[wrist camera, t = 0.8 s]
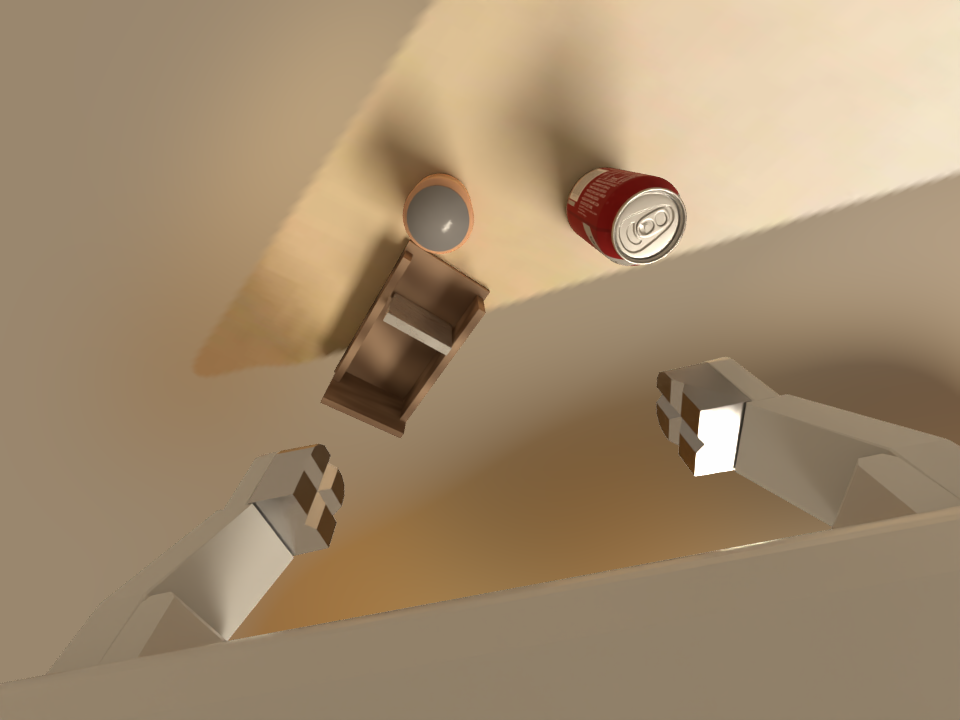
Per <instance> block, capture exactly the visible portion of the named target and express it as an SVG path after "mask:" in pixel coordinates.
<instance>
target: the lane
mask: <svg viewBox="0 0 960 720" xmlns="http://www.w3.org/2000/svg"><path fill="white" fill-rule="evenodd" d="M395 293H397V294H399V295H400V296H402V297H404V298H406V299H407V300H409V301H411V302H413V303H414V304H416V305H418V306H419V307H421V308H423V309H425V310H426V311H428V312H430V313H431V314H433V315H435V316H437V317H438V318H440V319H442V320H444V321H445V322H447V323H449V324H450V325H452V349H451V350H450V352H449V353H448V354H447V356H446V355H444V354H443V353H441V352H439V351H437V350H435V349H434V348H432V347H430V346H428V345H426V344H424V343H423V342H421V341H419V340H417V339H415V338H413V337H412V336H410V335H408V334H406V333H404V332H402V331H401V330H399V329H397V328H395V327H393V326H392V325H390V324H388V323H386V322H384V321H383V319H384V317H385V314H386V312H387V309H388V306H389V304H390V301H391V299H392V298H393V296H394V294H395ZM489 293H490V292H489V290H488V289H486V288H485V287H483V286H481V285H480V284H478V283H477V282H475V281H474V280H472V279H470V278H469V277H467V276H466V275H464V274H463V273H461V272H460V271H458V270H456V269H455V268H453V267H452V266H450V265H449V264H447V263H445V262H444V261H442V260H441V259H439V258H438V257H436V256H434V255H433V254H431V253H430V252H428V251H425V250H423V249H422V248H420V247H419V246H417V245H416V244H415V243H414V242H413V241H411V240H410V241H409V242H408V244H407V246H406V247H405V249H404V251H403V253H402V254H401V256H400V258H399V260H398V261H397V263H396V265H395V267H394V268H393V270H392V272H391V274H390V275H389V277H388V279H387V280H386V282H385V284H384V286H383V287H382V289H381V291H380V293H379V294H378V296H377V298H376V300H375V301H374V303H373V305H372V306H371V308H370V310H369V312H368V313H367V315H366V317H365V319H364V320H363V322H362V324H361V326H360V327H359V329H358V331H357V333H356V334H355V336H354V338H353V339H352V341H351V343H350V345H349V346H348V348H347V350H346V352H345V353H344V355H343V357H342V359H341V360H340V362H339V364H338V366H337V367H336V369H335V371H334V372H335V375H334V377H333V379H332V381H331V382H330V385H329V386H328V388H327V390H326V393H325V394H324V396H323V398H322V400H321V403H323V404H325V405H328V406H329V407H332V408H334V409H336V410H338V411H341V412H343V413H345V414H347V415H350V416H352V417H354V418H356V419H359V420H361V421H363V422H365V423H368V424H370V425H372V426H374V427H377V428H379V429H381V430H384V431H385V432H388V433H390V434H392V435H394V436H397V437H399V438H401V437H402V435H403V434H404V429H405V423H406V421H407V420H408V418H409V417H410V416H411V414H412V413H413V412H414V410H415V409H416V407H417V406H418V405H419V403H420V402H421V401H422V399H423V398H424V397H425V395H426V394H427V392H428V391H429V390H430V388H431V387H432V386H433V384H434V383H435V381H436V380H437V378H438V377H439V376H440V375H441V373H442V372H443V370H444V369H445V368H446V366H447V365H448V363H449V362H450V361H451V360H452V358H453V357H454V355H455V354H456V353H457V351H458V350H459V349H460V347H461V346H462V344H463V343H464V342H465V340H466V339H467V338H468V336H469V335H470V333H471V332H472V331H473V329H474V328H475V326H476V325H477V324H478V322H479V321H480V320H481V318H482V317H483V316H484V314H485V307H484V300H485V298H486V297H487V295H488V294H489Z"/></svg>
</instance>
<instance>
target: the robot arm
mask: <svg viewBox="0 0 960 720" xmlns="http://www.w3.org/2000/svg"><path fill="white" fill-rule="evenodd" d="M657 388H658V389H659V391H660V392H661V393H662V396H661V397H660V398H659V400H658V401H657V402H656V403H657V404H656V408H657V417H658V421H659V425H660V427H661V429H662V431H663V433H664V435H665V436H666V438H667V439H668V440H669V441H671V442H673V443H675V444H677V445H679V456H680V457H681V458H682V460H683V461H684V462H685V464H686V465H687V467H688V468H689V469H690V471H691V472H692V473H693V475H694V476H698V475H705V474H711V473H716V472H722V471H728V470H734V469H735V472H737V473H739V474H740V475H742V476H744V477H746V478H748V479H749V480H751V481H753V482H755V483H756V484H758V485H760V486H761V487H764V488H765V489H767V490H769V491H770V492H772V493H774V494H776V495H777V496H779V497H781V498H783V499H785V500H786V501H788V502H790V503H791V504H793V505H795V506H797V507H798V508H800V509H802V510H804V511H805V512H807V513H809V514H811V515H813V516H814V517H816V518H818V519H819V520H821V521H823V522H825V523H827V524H828V525H830V526H832V529H830V530H825V531H820V532H815V533H809V534H803V535H798V536H793V537H788V538H782V539H777V540H772V541H766V542H760V543H755V544H750V545H744V546H738V547H733V548H728V549H722V550H717V551H711V552H706V553H701V554H695V555H691V556H685V557H679V558H674V559H669V560H663V561H658V562H653V563H647V564H642V565H637V566H631V567H626V568H620V569H615V570H610V571H604V572H599V573H594V574H589V575H583V576H578V577H572V578H567V579H562V580H556V581H550V582H545V583H540V584H534V585H529V586H524V587H518V588H513V589H507V590H502V591H496V592H491V593H485V594H480V595H475V596H470V597H465V598H459V599H453V600H448V601H442V602H437V603H431V604H426V605H421V606H415V607H410V608H404V609H399V610H393V611H388V612H382V613H377V614H372V615H366V616H361V617H355V618H350V619H345V620H339V621H334V622H329V623H323V624H318V625H313V626H307V627H302V628H296V629H291V630H285V631H280V632H274V633H269V634H264V635H258V636H253V637H247V638H243V639H237V640H231V641H228V639H229V638H230V637H231V636H232V634H233V633H234V632H235V631H236V629H237V628H238V627H239V626H240V624H241V623H242V622H243V621H244V619H245V618H246V617H247V616H248V614H249V613H250V612H251V611H252V609H253V608H254V607H255V606H256V604H257V603H258V602H259V601H260V599H261V598H262V597H263V595H264V594H265V593H266V592H267V591H268V589H269V588H270V587H271V585H272V584H273V583H274V582H275V580H276V579H277V578H278V577H279V576H280V574H281V573H282V572H283V570H284V569H285V568H286V567H287V565H288V564H289V563H290V562H291V560H292V559H293V556H295V555H299V554H303V553H308V552H312V551H316V550H321V549H325V548H329V546H330V542H331V539H332V536H333V533H334V529H335V526H336V520H335V519H334V517H333V515H334V514H335V513H336V512H337V511H338V510H339V508H341V506H342V503H343V499H344V482H343V478H342V475H341V473H340V471H339V469H338V468H336V467H335V466H333V465H331V464H329V463H328V462H329V459H330V454H329V452H328V450H327V449H326V447H325V445H322V444H315V445H309V446H304V447H299V448H293V449H288V450H283V451H280V452H273V453H269V454H263V455H261V456H259V457H257V458H256V459H255V460H254V462H253V463H252V465H251V467H250V468H249V470H248V471H247V473H246V474H245V476H244V478H243V479H242V481H241V482H240V484H239V486H238V487H237V489H236V490H235V492H234V493H233V495H232V497H231V498H230V500H229V501H228V503H227V505H226V506H225V508H224V509H223V510H219V511H216V512H215V513H214V514H212V515H211V516H210V517H208V518H207V519H206V520H205V521H204V522H202V523H201V524H200V525H198V526H197V527H196V528H195V529H193V530H192V531H191V532H190V533H188V534H187V535H186V536H184V537H183V538H182V539H181V540H179V541H178V542H177V543H176V544H175V545H173V546H172V547H171V548H169V549H168V550H167V551H166V552H164V553H163V554H162V555H160V556H159V557H158V558H157V559H155V560H154V561H153V562H152V563H150V564H149V565H148V566H147V567H145V568H144V569H143V570H142V571H140V572H139V573H138V574H137V575H135V576H134V577H133V578H132V579H130V580H129V581H128V582H126V583H125V584H124V585H123V586H121V587H120V588H119V589H118V590H116V591H115V592H114V593H112V594H111V595H110V596H109V597H108V598H106V599H105V600H104V601H102V602H101V603H100V604H99V605H98V607H97V608H96V609H95V611H94V612H93V613H92V614H91V616H90V617H89V619H88V620H87V621H86V622H85V624H84V625H83V626H82V628H81V629H80V630H79V632H78V633H77V634H76V635H75V637H74V638H73V639H72V641H71V642H70V643H69V645H68V646H67V647H66V648H65V650H64V651H63V652H62V654H61V655H60V656H59V658H58V659H57V660H56V662H55V663H54V664H53V665H52V667H51V668H50V669H49V671H48V672H47V673H46V675H42V676H37V677H32V678H26V679H21V680H16V681H10V682H4V683H0V720H960V446H958V445H957V444H955V443H953V442H952V441H950V440H948V439H945V438H941V437H938V436H934V435H931V434H927V433H923V432H920V431H916V430H913V429H909V428H906V427H902V426H898V425H895V424H891V423H888V422H884V421H881V420H877V419H874V418H870V417H866V416H863V415H860V414H856V413H852V412H849V411H845V410H842V409H838V408H835V407H831V406H828V405H824V404H820V403H817V402H813V401H810V400H806V399H802V398H799V397H796V396H792V395H789V394H786V395H781V396H780V395H778V394H777V393H776V392H775V391H773V390H772V389H771V388H769V387H768V386H767V385H766V384H764V383H763V382H762V381H760V380H759V379H758V378H756V377H755V376H754V375H752V374H751V373H750V372H749V371H747V370H746V369H745V368H743V367H742V366H741V365H740V364H738V363H737V362H736V361H734V360H733V359H732V358H728V357H722V358H719V359H714V360H710V361H706V362H703V363H700V364H696V365H691V366H686V367H682V368H677V369H672V370H668V371H663V372H659V374H658V377H657Z"/></svg>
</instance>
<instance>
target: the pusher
mask: <svg viewBox="0 0 960 720" xmlns="http://www.w3.org/2000/svg"><path fill="white" fill-rule="evenodd" d="M383 321H384V322H386V323H388V324H390V325H392V326H393V327H395V328H397V329H399V330H401V331H402V332H404V333H406V334H408V335H410V336H412V337H413V338H415V339H417V340H419V341H421V342H423V343H424V344H426V345H428V346H430V347H432V348H434V349H435V350H437V351H439V352H441V353H443V354H444V355H446V356H447V354H448V353H449V352H450V350H451V349H452V325H450V324H449V323H447V322H445V321H444V320H442V319H440V318H438V317H437V316H435V315H433V314H431V313H430V312H428V311H426V310H425V309H423V308H421V307H419V306H418V305H416V304H414V303H413V302H411V301H409V300H407V299H406V298H404V297H402V296H400V295H399V294H397V293H395V294H394V296H393V298H392V299H391V301H390V304H389V306H388V309H387V312H386V314H385V317H384V319H383Z"/></svg>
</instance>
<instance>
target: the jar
mask: <svg viewBox="0 0 960 720" xmlns="http://www.w3.org/2000/svg"><path fill="white" fill-rule="evenodd" d="M403 222H404V226H405V229H406V231H407V233H408V235H409V237H410V238H411V240H412V241H413V242H414V243H415V244H416V245H417V246H419V247H420V248H422V249H423V250H425V251H428V252H431V253H436V254H444V253H449V252H452V251H454V250H456V249H458V248H459V247H461V246H462V245H463V244H464V243H465V242H466V240H467V239H468V238H469V236H470V234H471V231H472V228H473V223H474V214H473V208H472V204H471V200H470V196H469V194H468V191H467V190H466V188H465V187H464V185H463V184H462V183H461V182H460V181H459V180H458V179H456V178H455V177H453V176H450V175H447V174H442V173H437V174H432V175H429V176H427V177H425V178H424V179H422V180H421V181H420V182H419V183H418V184H417V185H416V187H415V188H414V189H413V190H412V191H411V193H410V194H409V195H408V197H407V199H406V201H405V204H404V209H403Z"/></svg>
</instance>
